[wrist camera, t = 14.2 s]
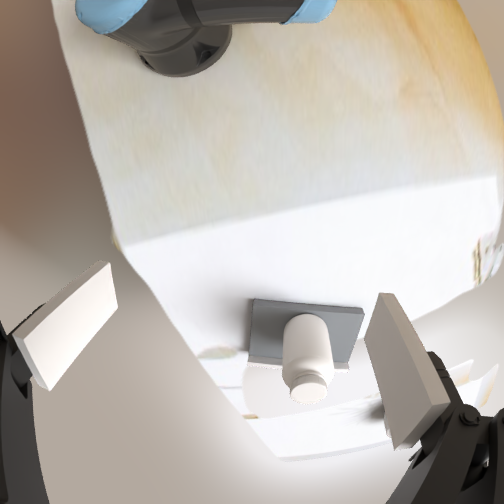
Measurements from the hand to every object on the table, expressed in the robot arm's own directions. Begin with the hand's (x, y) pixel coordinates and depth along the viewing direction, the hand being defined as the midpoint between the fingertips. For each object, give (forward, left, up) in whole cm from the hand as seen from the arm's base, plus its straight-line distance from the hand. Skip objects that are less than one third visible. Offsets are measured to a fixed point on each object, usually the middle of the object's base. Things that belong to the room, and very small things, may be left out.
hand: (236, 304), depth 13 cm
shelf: (+26, +9, -32) cm, 42 cm away
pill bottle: (+24, +9, -30) cm, 39 cm away
